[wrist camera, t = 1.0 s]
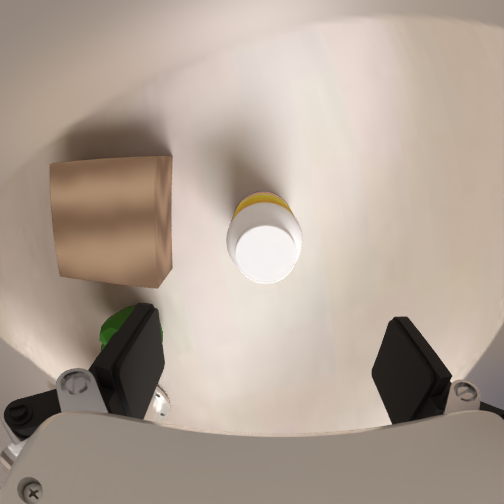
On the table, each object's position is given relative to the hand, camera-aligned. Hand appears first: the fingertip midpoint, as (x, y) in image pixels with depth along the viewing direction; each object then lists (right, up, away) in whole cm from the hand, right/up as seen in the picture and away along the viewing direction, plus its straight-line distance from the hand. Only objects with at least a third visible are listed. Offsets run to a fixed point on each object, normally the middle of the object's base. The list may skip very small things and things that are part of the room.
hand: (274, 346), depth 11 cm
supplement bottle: (0, +8, +23) cm, 24 cm away
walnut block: (-18, +9, +23) cm, 30 cm away
